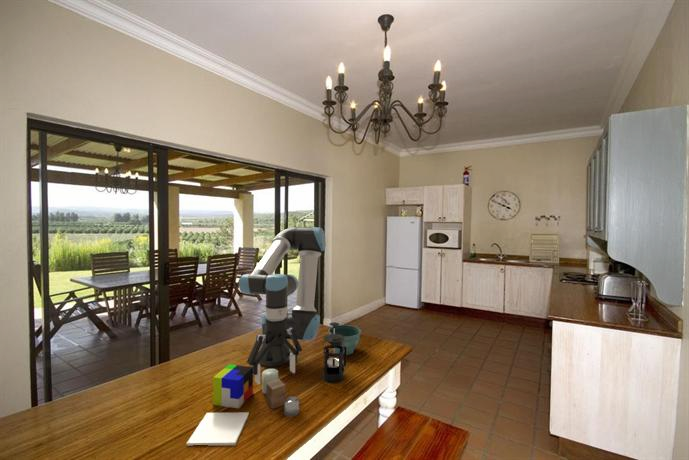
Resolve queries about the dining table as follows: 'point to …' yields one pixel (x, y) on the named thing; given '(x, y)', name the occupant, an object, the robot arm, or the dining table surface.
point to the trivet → (219, 429)
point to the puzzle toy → (232, 386)
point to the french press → (334, 363)
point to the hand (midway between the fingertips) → (275, 377)
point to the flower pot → (347, 337)
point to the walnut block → (275, 393)
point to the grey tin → (291, 406)
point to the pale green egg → (268, 377)
